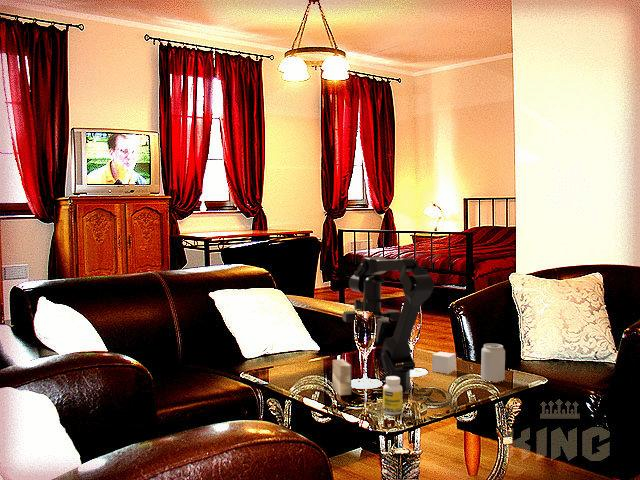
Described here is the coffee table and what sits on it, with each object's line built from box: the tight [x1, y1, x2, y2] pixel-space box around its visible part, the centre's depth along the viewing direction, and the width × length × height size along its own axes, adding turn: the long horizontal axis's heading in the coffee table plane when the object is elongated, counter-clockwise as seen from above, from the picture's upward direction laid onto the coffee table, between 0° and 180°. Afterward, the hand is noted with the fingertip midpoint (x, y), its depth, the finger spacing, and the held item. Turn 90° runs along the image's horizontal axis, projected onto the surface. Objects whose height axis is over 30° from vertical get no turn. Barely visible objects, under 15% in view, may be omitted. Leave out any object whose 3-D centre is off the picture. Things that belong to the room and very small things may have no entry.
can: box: [480, 343, 506, 382], centre depth 224 cm, size 8×8×12 cm
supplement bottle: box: [382, 376, 403, 416], centre depth 193 cm, size 5×5×10 cm
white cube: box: [431, 351, 457, 375], centre depth 237 cm, size 6×6×6 cm
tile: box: [332, 358, 352, 396], centre depth 212 cm, size 4×8×9 cm, turn 16°
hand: (371, 341), depth 227 cm, fingers open, 4 cm apart
